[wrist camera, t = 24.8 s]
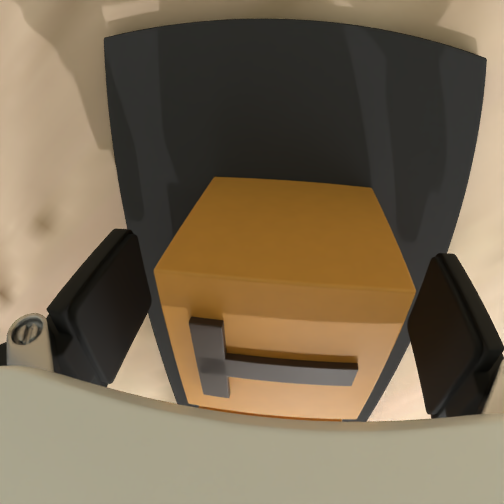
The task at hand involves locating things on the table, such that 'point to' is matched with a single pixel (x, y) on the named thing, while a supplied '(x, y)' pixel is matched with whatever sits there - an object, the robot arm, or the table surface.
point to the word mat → (292, 130)
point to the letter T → (283, 297)
